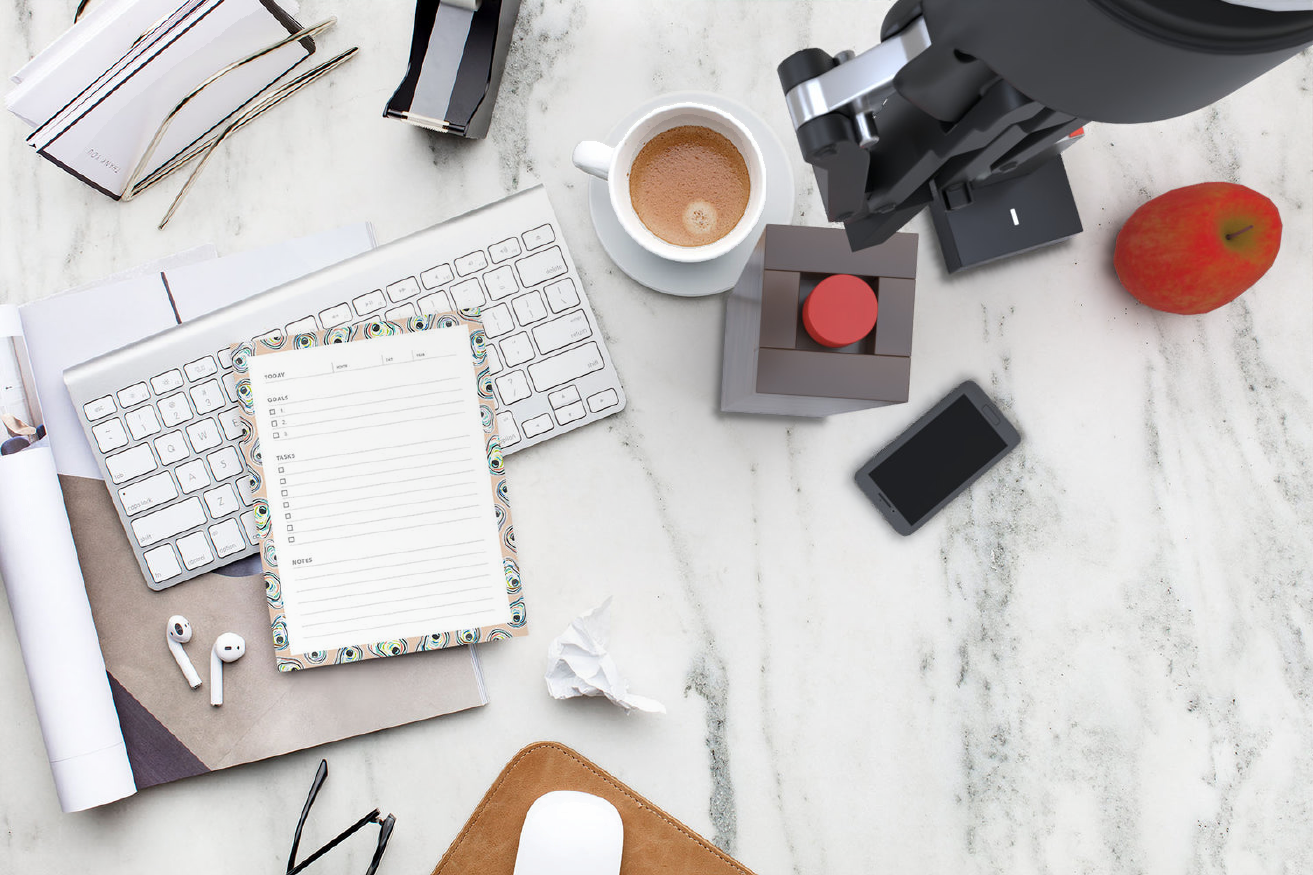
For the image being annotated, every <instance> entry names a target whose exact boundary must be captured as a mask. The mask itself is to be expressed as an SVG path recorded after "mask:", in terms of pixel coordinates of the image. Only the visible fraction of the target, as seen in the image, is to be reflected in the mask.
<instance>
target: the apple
mask: <svg viewBox="0 0 1313 875" xmlns="http://www.w3.org/2000/svg"><path fill="white" fill-rule="evenodd" d="M1283 227H1284V225H1283V221H1282V218H1281V214H1280V210H1279V207H1278V206H1277V205H1276V204H1275V203H1274V202H1273V201H1272V199H1270V197H1269V196H1266V195H1264V194H1262V193H1260V192H1259V191H1257V190H1255V189H1252V188H1250V187H1248V186H1246V185H1244V184H1242V183H1241V184H1240V183H1235V182H1229V181H1204V182H1199V183H1194V184H1190V185H1185V186H1181V187H1177V188H1175V189H1171V190H1168V191H1166V192H1164V193H1162V194H1160V195H1158V196H1156V197H1154V198H1153V199H1150V200H1147V201H1146V202H1145V203H1143V204H1142V205H1140V206H1139V207H1138V208H1136V209H1135V210H1134V212H1133V213H1132V214H1131V215H1130V217H1129V218H1127V219H1126V221H1125V222H1124V223H1123V225H1122V227H1121V229H1120V231H1119V232H1118V233H1117V236H1116V240H1115V241H1116V242H1115V247H1114V254H1113V261H1112V263H1113V266H1114V269H1115V271H1116V274H1117V276H1118V279H1119V282H1120V285H1122V287H1123V288H1124V289H1125V291H1127V293H1129V294H1130V295H1131V296H1132V297H1133V298H1135V299H1136V300H1137V301H1138V302H1139V303H1141V305H1143V306H1146V307H1148V308H1151V309H1152V310H1153V309H1154V310H1156V311H1159V312H1165V313H1170V314H1174V315H1180V316H1195V315H1205V314H1209V313H1210V312H1213V311H1215V310H1217V309H1220V308H1222V307H1224V306H1226V305H1227V304H1229V303H1232V302H1233V301H1235V299H1237V298H1239V297H1240V296H1241V295H1242V294H1244V293H1245V292H1246V291H1248V290H1249V289H1250V288H1252V287H1254V286H1255V284H1256V283H1257V282H1259V281H1260V280H1261V279H1262V278H1263V277H1264V276H1265V275H1266V274H1267V273H1268V271H1270V269H1271V268H1272V267H1273V265H1274V263H1275V262H1276V259H1277V258H1278V254H1279V252H1280V249H1281V244H1282V234H1283Z"/></svg>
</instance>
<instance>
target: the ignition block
mask: <svg viewBox="0 0 1313 875" xmlns="http://www.w3.org/2000/svg"><path fill="white" fill-rule="evenodd" d="M918 250H919V233H916V232H915V233H914V232H901V231H897V232H896V233H895V234H894V235H892V236H891V237H890V238H889V239H888V240H886V241H885V242H884V243H883V244H879V245H876V246H873V247H869V248H866V249H863V250H859V251H856V252H852V250H851V247H850V244H849V240H848V237H847V234H846V230H845V228H840V227H839V228H838V227H825V226H824V227H822V226H808V225H807V226H806V225H792V224H778V223H777V224H776V223H766V224H765V227H764V229H763V230H762V232H761V233H760V237H759V238H758V240H757V242H756V244H755V246H754V248H753V250H752V252H751V254H750V256H749V258H748V260H747V261H746V264H745V265H744V268H743V269H742V271H741V273H740V275H739V277H738V279H737V281H736V282H735V285H734V287H733V289H732V290H731V292H730V295H729V296H728V298H727V302H726V318H725V332H724V333H725V334H724V335H725V336H724V347H723V348H724V349H723V364H722V367H723V368H722V381H721V396H720V412H728V413H729V412H731V413H745V414H763V415H777V416H778V415H779V416H793V417H794V416H795V417H807V418H824V417H829V416H835V415H836V416H837V415H842V414H848V413H854V412H860V411H866V410H872V409H879V408H885V407H890V406H897V405H902V404H908V403H909V399H910V397H909V395H910V381H911V364H912V351H913V334H914V316H915V300H916V286H917V284H916V283H917V270H918V269H917V268H918ZM839 274H847V275H852V276H855V277H858V278H860V279H861V280H863V281H864V282H866V283H867V284H868V285H869V286H870V288H871V289H872V290H873V292H874V294H875V296H876V299H877V304H878V315H877V319H876V322H875V325H874V326H873V328H872V330H871V331H870V332H869V333H868V334H867V335H866V336H865V337H864V338H862V339H860V340H859V341H857V342H855V343H853V344H851V345H848V346H845V347H840V348H832V347H827V346H824V345H822V344H820V343H818V342H817V341H815V340H814V339H813V338H812V337H811V336H810V335H809V333H808V332H807V330H806V328H805V325H804V322H803V306H804V302H805V300H806V298H807V296H808V295H809V293H810V292H811V291H812V290H813V289H814V288H815V287H816V286H817V285H818V284H819V283H820V282H822V281H823V280H824V279H826V278H828V277H831V276H834V275H839Z"/></svg>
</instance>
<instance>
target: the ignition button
mask: <svg viewBox="0 0 1313 875" xmlns="http://www.w3.org/2000/svg"><path fill="white" fill-rule="evenodd" d="M877 315H878V304H877V299H876V296H875V294H874V292H873V290H872V289H871V288H870V286H869V285H868V284H867V283H866V282H864V281H863V280H861V279H860V278H858V277H855V276H852V275H847V274H839V275H834V276H831V277H828V278H826V279H824V280H823V281H822V282H820V283H819V284H818V285H817V286H816V287H815V288H814V289H813V290H812V291H811V292H810V293H809V295H808V296H807V298H806V300H805V302H804V306H803V322H804V325H805V328H806V330H807V332H808V333H809V335H810V336H811V337H812V338H813V339H814V340H815V341H817V342H818V343H820V344H822V345H824V346H827V347H832V348H840V347H845V346H848V345H851V344H853V343H855V342H857V341H859V340H860V339H862V338H864V337H865V336H866V335H867V334H868V333H869V332H870V331H871V330H872V328H873V326H874V325H875V322H876V319H877Z"/></svg>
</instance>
